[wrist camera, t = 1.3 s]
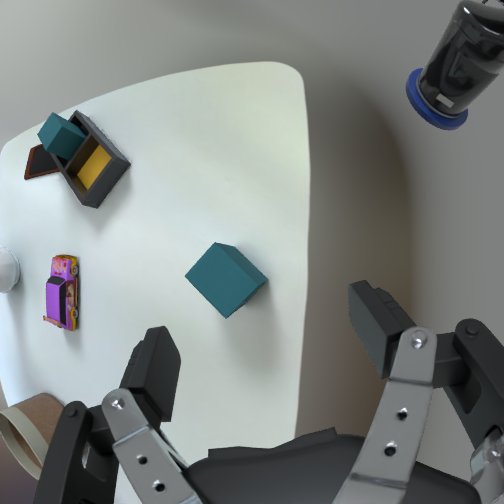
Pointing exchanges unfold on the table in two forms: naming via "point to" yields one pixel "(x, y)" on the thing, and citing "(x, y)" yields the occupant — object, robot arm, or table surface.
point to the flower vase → (8, 270)
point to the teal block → (225, 278)
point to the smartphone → (40, 163)
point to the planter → (30, 430)
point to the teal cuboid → (61, 136)
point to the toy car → (62, 292)
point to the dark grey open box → (92, 164)
